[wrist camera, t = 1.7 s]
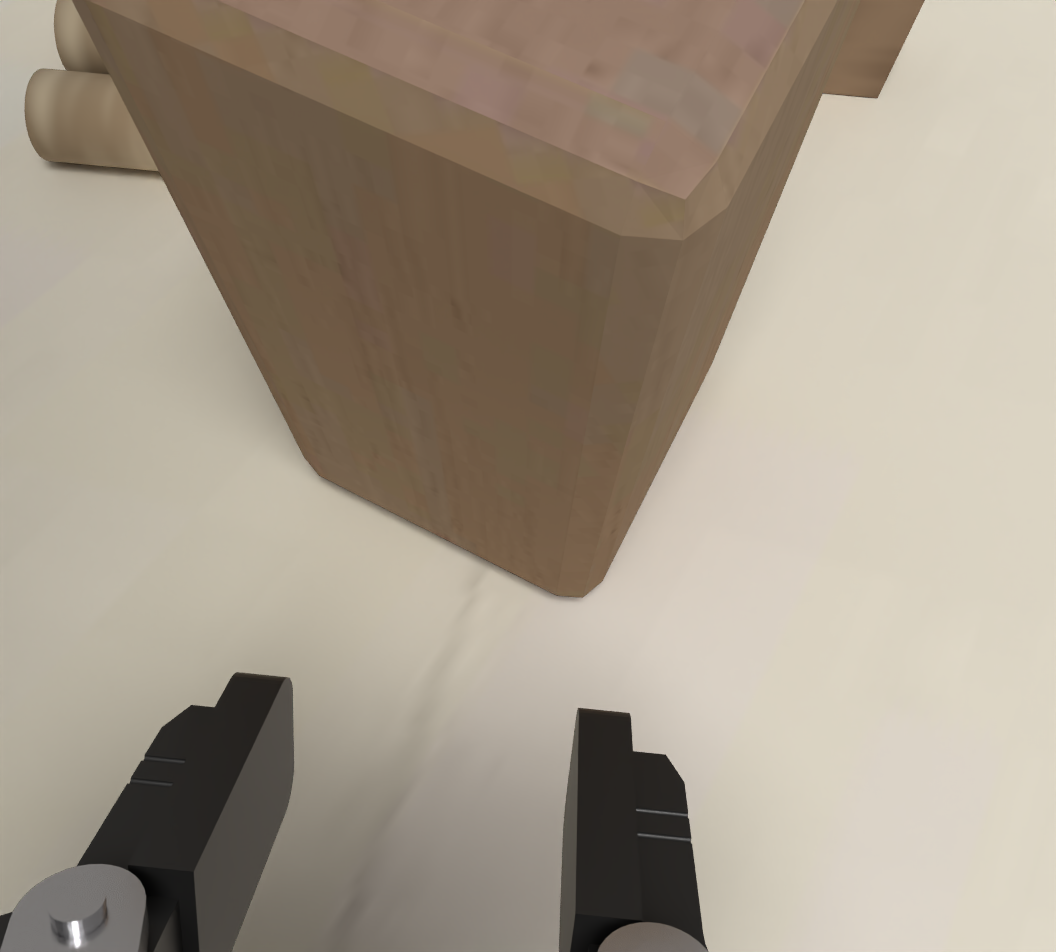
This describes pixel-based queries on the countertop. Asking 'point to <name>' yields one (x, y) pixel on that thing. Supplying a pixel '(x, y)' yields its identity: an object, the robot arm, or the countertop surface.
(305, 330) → the wooden block
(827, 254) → the countertop surface
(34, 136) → the roller
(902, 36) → the board
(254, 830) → the robot arm
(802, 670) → the countertop surface
